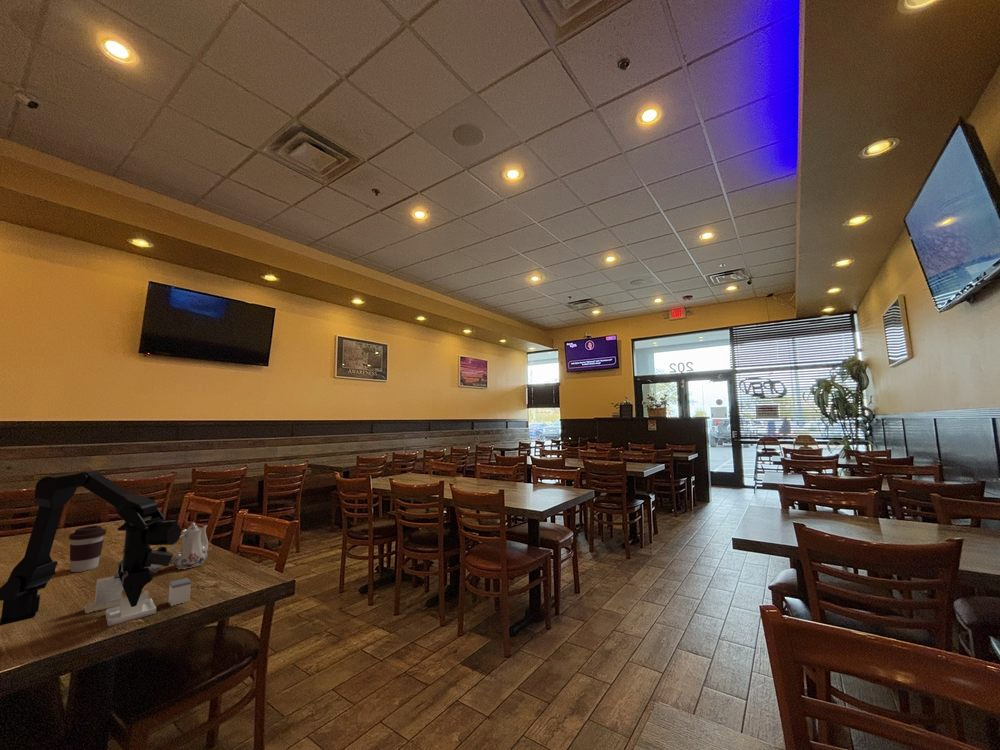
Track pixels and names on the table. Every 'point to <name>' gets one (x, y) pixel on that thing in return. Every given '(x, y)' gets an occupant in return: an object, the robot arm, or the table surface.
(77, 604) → the table surface
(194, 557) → the chinaware
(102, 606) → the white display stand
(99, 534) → the coffee cup
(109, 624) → the tray
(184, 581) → the grey cartridge
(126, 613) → the amber cartridge
